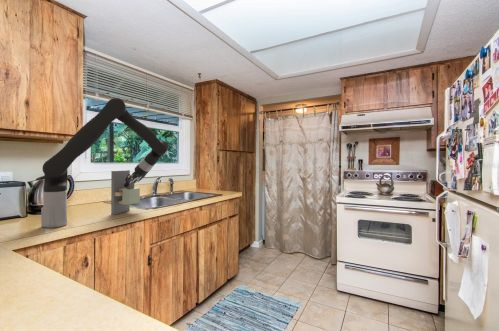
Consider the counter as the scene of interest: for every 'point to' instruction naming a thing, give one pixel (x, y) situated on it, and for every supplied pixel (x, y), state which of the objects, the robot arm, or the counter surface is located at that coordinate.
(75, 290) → the counter surface
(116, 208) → the wall board
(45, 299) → the counter surface
